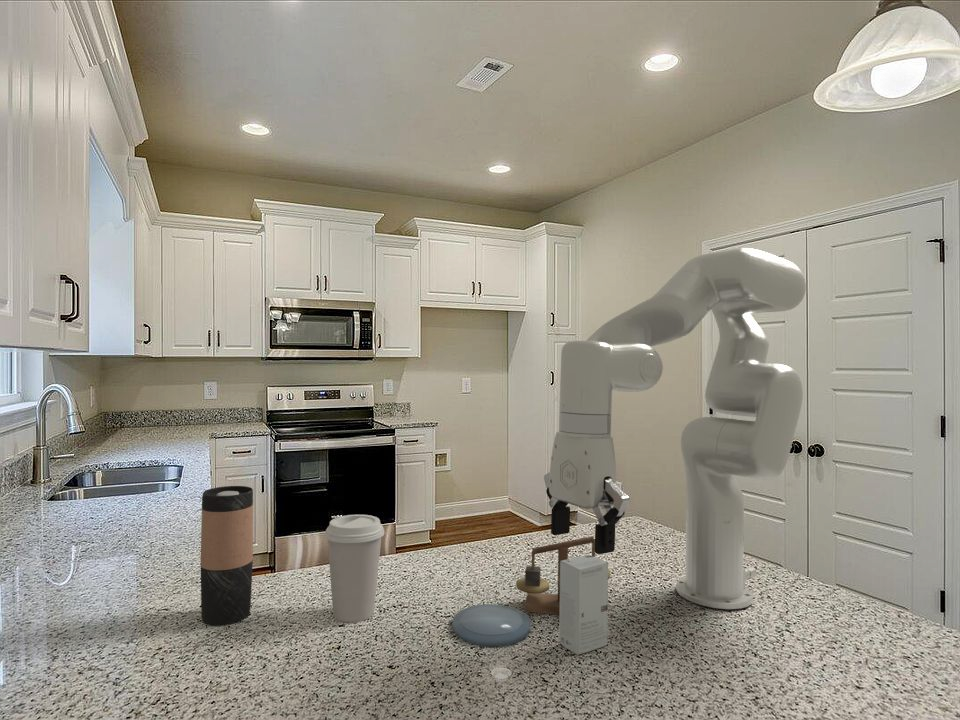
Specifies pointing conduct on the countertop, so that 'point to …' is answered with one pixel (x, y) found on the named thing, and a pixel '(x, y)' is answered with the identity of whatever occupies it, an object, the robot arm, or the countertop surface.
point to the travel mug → (226, 554)
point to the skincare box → (583, 604)
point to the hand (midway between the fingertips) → (581, 542)
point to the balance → (538, 585)
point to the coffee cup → (354, 565)
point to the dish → (491, 625)
